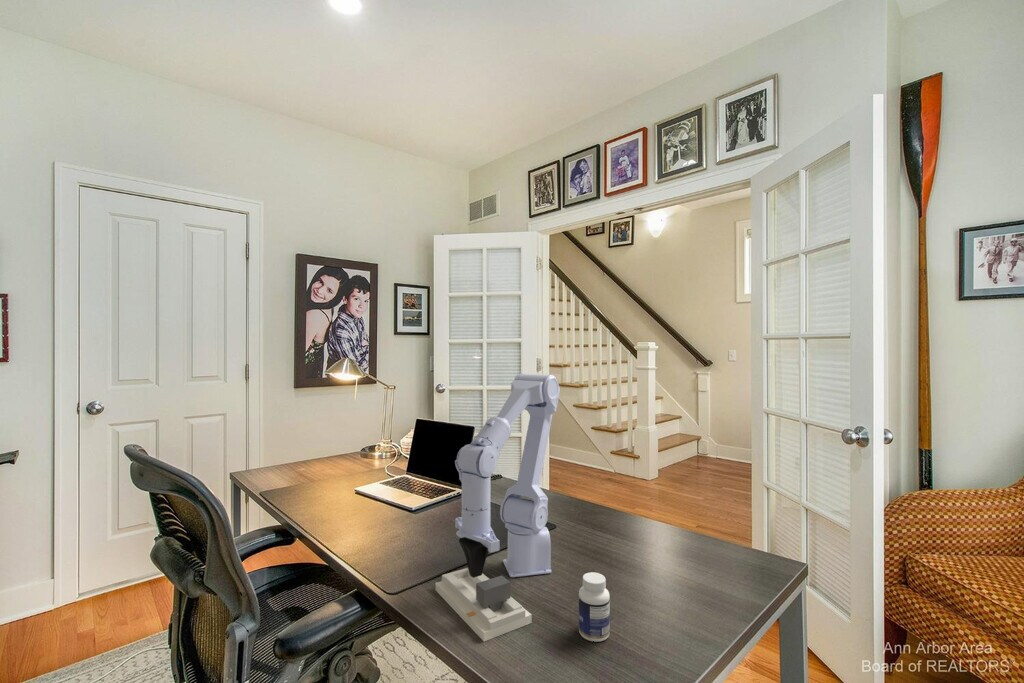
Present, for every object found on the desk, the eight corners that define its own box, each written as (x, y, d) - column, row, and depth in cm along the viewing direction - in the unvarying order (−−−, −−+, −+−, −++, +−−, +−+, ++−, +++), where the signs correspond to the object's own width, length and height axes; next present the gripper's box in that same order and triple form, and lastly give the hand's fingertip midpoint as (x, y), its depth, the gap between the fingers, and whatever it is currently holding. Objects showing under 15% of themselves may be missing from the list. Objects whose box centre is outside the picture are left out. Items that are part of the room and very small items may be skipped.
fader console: (435, 590, 96) (435, 575, 96) (478, 577, 102) (478, 563, 102) (483, 641, 80) (483, 623, 80) (531, 622, 85) (531, 606, 85)
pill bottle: (575, 624, 85) (575, 570, 85) (604, 623, 85) (604, 569, 85) (582, 643, 79) (582, 585, 79) (613, 642, 80) (613, 584, 80)
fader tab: (476, 608, 86) (476, 583, 87) (501, 599, 90) (501, 575, 90) (484, 616, 84) (484, 590, 84) (510, 606, 87) (510, 582, 87)
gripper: (442, 499, 96) (441, 565, 96) (476, 522, 84) (475, 597, 84) (472, 493, 100) (472, 557, 100) (508, 514, 88) (508, 586, 88)
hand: (475, 575), depth 93 cm, fingers closed
